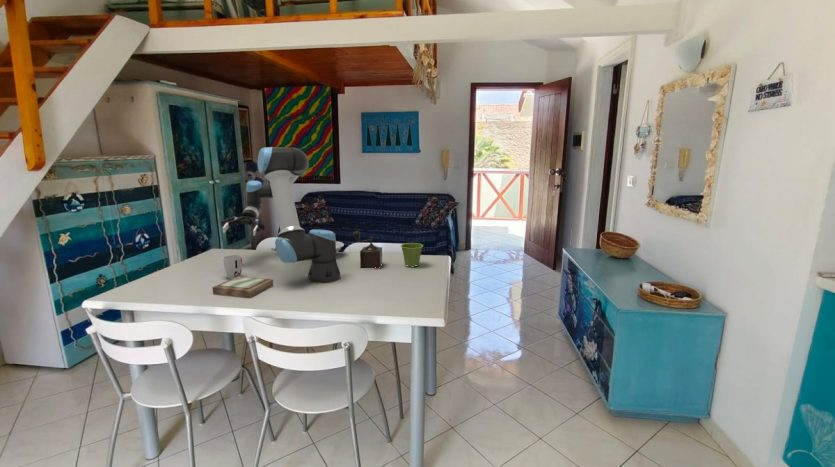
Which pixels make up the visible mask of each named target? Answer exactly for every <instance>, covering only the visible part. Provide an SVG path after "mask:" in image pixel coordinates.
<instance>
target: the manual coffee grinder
mask: <svg viewBox="0 0 835 467" xmlns="http://www.w3.org/2000/svg"><path fill="white" fill-rule="evenodd" d="M352 235H353V237H354V238H355V241H357V242H358V243H363V242H364V243H365V242H369V243H370V244H369V245H367V246H363V247H362V249H361V250H360V251H359V259H360V261H359V262H360V266H359V268H360V269H361V268H375V267H376V268H379V267H380V266H381V264H382V265H383V247H382V246H376V245H374V244H373V235H370V236H369V238H368V239H362V240H361V237H360V236H361V232H360V231H358V230H357V231H354V232H353V234H352ZM381 267H382V266H381Z"/></svg>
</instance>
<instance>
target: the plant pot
mask: <svg viewBox="0 0 835 467" xmlns="http://www.w3.org/2000/svg"><path fill="white" fill-rule="evenodd" d="M400 247H401V249H402V250H401V251H402V255H403V259H404V265H408V266H415V265H419V266H420V261H421V253H422V251H423V247H424V244H422V243H419V242H418V243H417V242H406V243H402V244H401V245H400Z"/></svg>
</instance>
